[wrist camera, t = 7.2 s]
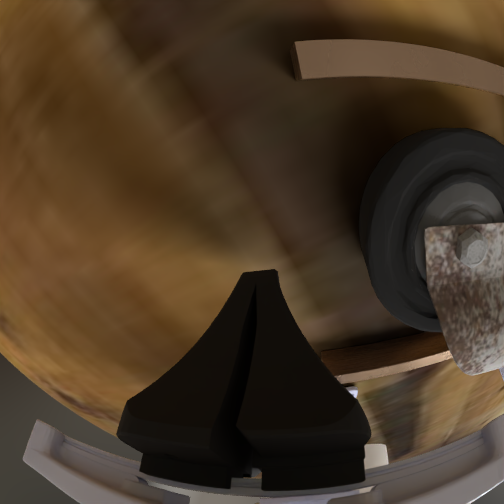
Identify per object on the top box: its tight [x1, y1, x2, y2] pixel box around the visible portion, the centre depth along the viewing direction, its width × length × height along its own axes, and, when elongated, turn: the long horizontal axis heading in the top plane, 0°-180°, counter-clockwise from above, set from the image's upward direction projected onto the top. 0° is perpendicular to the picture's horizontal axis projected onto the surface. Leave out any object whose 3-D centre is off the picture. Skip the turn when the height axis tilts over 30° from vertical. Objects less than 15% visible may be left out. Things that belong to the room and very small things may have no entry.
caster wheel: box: [359, 128, 504, 375], centre depth 9 cm, size 7×11×10 cm
